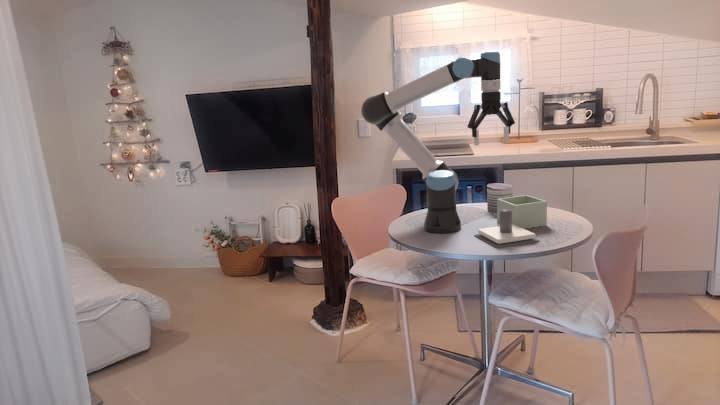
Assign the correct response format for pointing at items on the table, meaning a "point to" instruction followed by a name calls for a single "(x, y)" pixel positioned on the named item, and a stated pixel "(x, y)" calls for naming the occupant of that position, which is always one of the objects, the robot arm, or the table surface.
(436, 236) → the table surface
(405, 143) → the robot arm
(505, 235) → the lid
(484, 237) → the mat
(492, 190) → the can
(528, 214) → the box
